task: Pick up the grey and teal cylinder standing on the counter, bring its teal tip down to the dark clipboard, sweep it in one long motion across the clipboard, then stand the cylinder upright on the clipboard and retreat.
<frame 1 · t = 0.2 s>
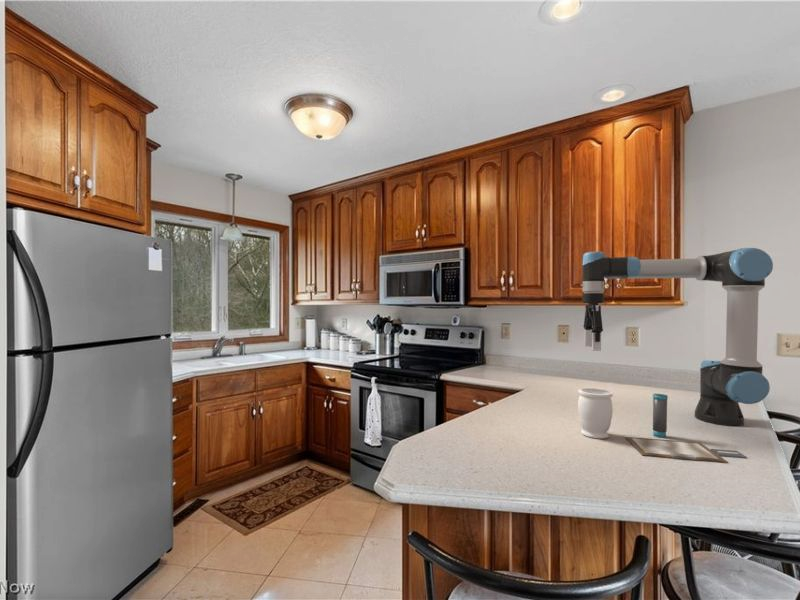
hand: (592, 348, 157), 28 cm above the worktop, fingers open, 13 cm apart
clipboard: (672, 449, 127), on the worktop
grey slotted plate: (728, 454, 124), on the worktop
jar: (594, 435, 140), on the worktop
grey and teal cylinder: (659, 436, 140), on the worktop
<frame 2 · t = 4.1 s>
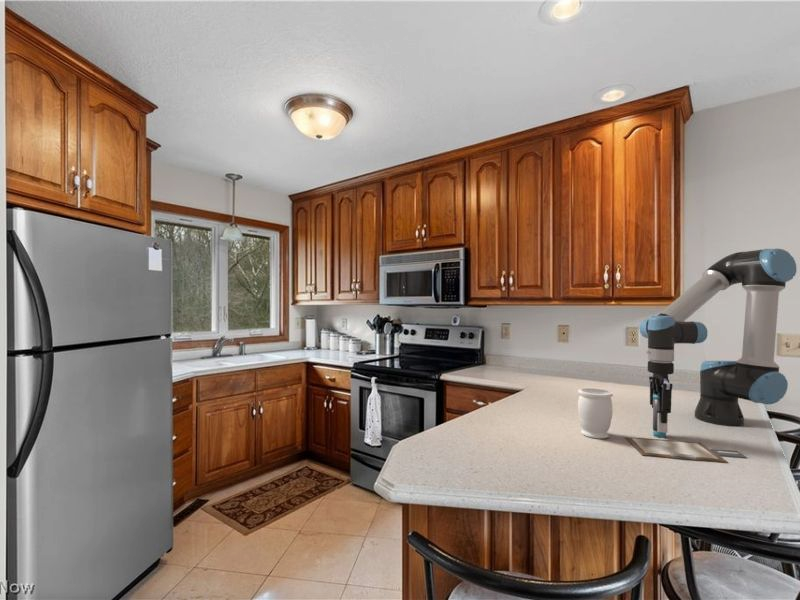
hand: (659, 429, 140), 2 cm above the worktop, fingers closed on grey and teal cylinder, 4 cm apart
grey and teal cylinder: (659, 436, 140), on the worktop, touching gripper
everything else where it was.
when the fingers open (6 cm above the worktop, at t = 11.2 s): grey and teal cylinder stays where it is, resting on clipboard.
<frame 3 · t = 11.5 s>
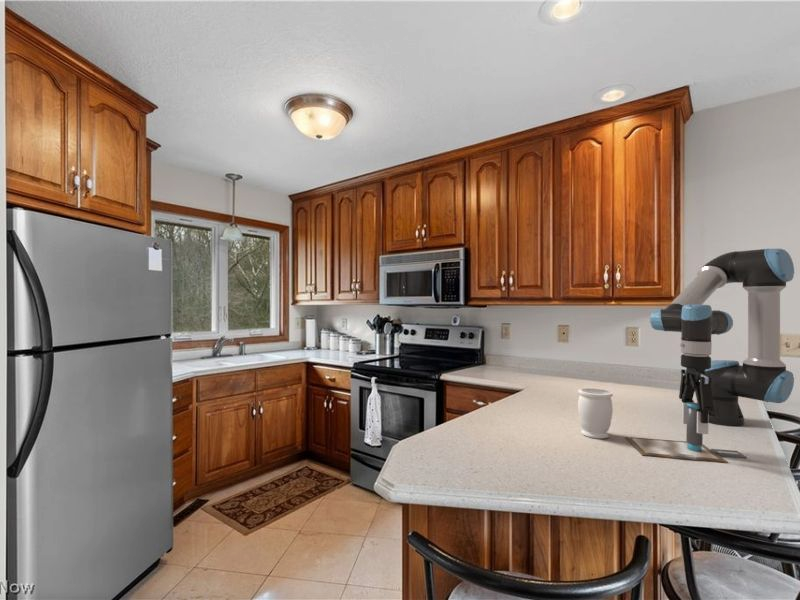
hand: (694, 428, 126), 7 cm above the worktop, fingers open, 9 cm apart
grey and teal cylinder: (694, 449, 126), point 1 cm above the worktop, touching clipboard
everything else where it was.
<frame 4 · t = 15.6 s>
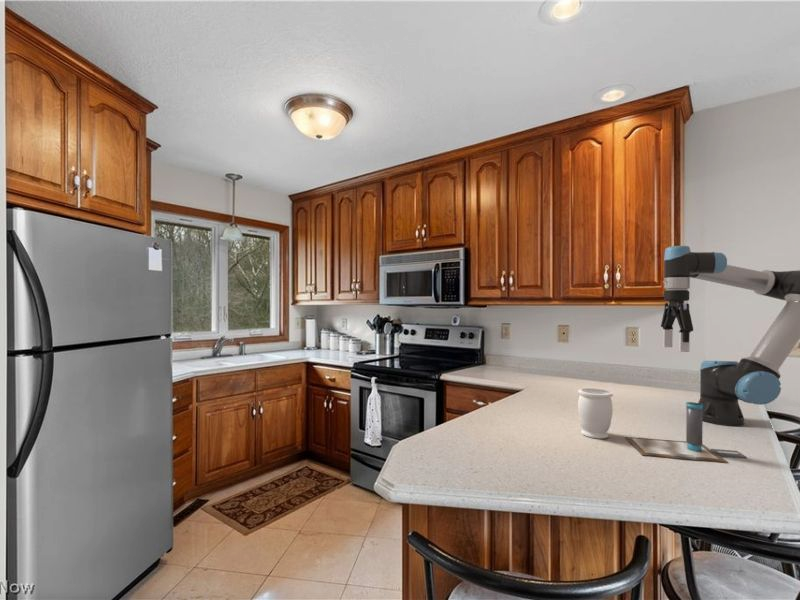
hand: (675, 349, 147), 29 cm above the worktop, fingers open, 13 cm apart
nothing on the worktop moved.
at the end: grey and teal cylinder inside the target area on the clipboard (6.0 cm from its centre), point 0.5 cm above the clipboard's base; grey and teal cylinder tilted 1°; grey and teal cylinder moved 13.9 cm from its start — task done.
